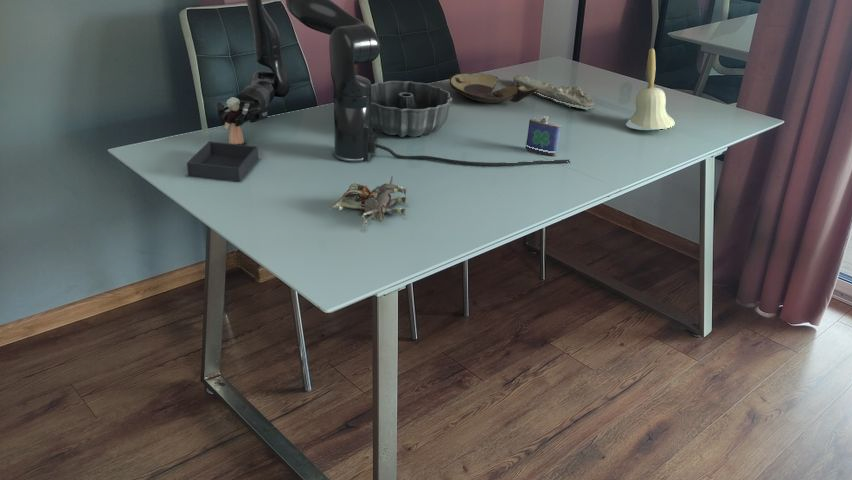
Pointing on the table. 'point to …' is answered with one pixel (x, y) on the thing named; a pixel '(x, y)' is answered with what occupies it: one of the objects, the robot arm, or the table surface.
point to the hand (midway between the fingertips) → (230, 122)
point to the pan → (223, 161)
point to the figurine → (372, 200)
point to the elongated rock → (556, 91)
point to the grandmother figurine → (234, 131)
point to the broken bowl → (487, 88)
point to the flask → (543, 136)
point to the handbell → (651, 102)
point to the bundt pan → (408, 108)
